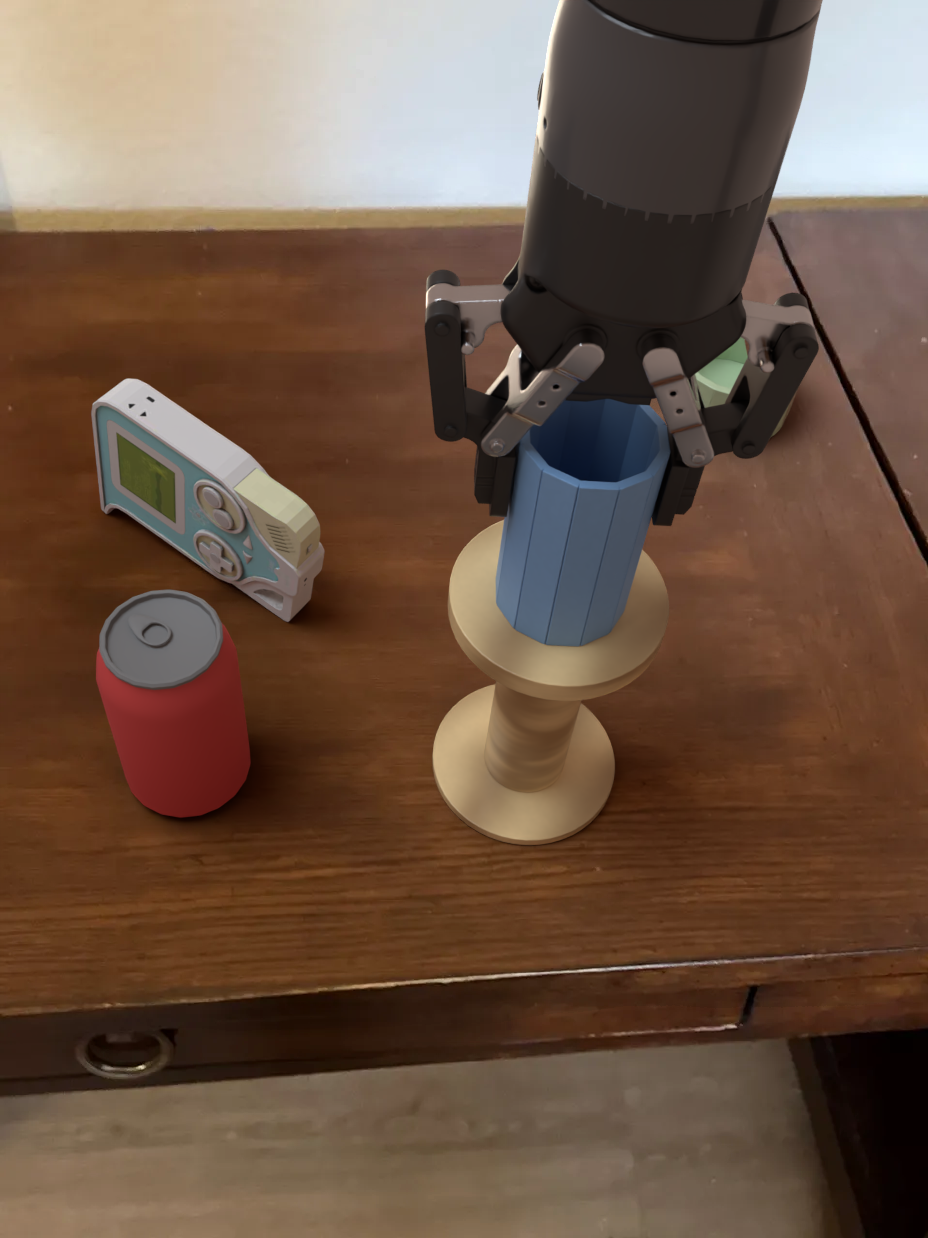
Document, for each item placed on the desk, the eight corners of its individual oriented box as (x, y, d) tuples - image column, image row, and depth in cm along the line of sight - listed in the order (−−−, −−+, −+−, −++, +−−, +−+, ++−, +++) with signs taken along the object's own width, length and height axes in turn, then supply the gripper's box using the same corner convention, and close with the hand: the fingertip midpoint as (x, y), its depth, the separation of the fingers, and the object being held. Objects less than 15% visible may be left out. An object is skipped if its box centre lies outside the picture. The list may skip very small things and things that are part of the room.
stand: (643, 739, 68) (704, 569, 56) (561, 879, 63) (610, 724, 51) (488, 659, 71) (516, 481, 59) (397, 787, 65) (407, 619, 53)
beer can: (186, 695, 68) (159, 557, 58) (277, 758, 66) (263, 626, 56) (99, 777, 64) (55, 645, 55) (192, 846, 62) (163, 721, 53)
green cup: (804, 390, 87) (823, 341, 83) (758, 465, 82) (776, 416, 78) (692, 343, 89) (706, 293, 86) (641, 413, 84) (654, 363, 81)
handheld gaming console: (287, 648, 73) (97, 512, 75) (316, 618, 74) (129, 486, 77) (301, 540, 63) (83, 389, 66) (334, 508, 65) (120, 362, 67)
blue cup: (644, 580, 56) (692, 420, 48) (588, 667, 52) (629, 511, 44) (533, 526, 57) (562, 363, 49) (472, 608, 54) (492, 447, 46)
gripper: (420, 188, 34) (401, 568, 47) (920, 221, 35) (763, 586, 48) (426, 50, 39) (407, 432, 52) (869, 83, 39) (738, 451, 53)
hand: (579, 505), depth 50 cm, fingers open, 6 cm apart
